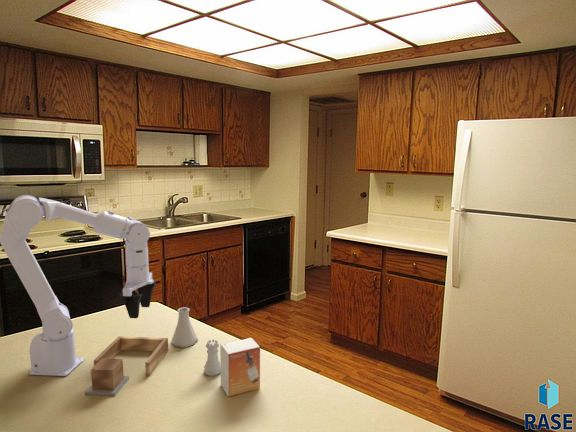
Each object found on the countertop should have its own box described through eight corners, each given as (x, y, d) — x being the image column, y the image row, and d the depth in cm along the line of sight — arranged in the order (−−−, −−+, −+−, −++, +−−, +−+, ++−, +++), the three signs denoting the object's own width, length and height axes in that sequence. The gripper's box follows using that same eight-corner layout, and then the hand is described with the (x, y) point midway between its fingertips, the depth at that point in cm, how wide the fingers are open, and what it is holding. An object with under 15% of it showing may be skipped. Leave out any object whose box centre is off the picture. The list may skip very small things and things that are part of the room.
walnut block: (92, 389, 92) (90, 369, 91) (103, 377, 96) (102, 358, 96) (113, 390, 91) (112, 370, 90) (123, 378, 96) (122, 358, 95)
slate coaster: (85, 394, 91) (85, 391, 91) (101, 377, 98) (101, 374, 98) (115, 395, 90) (115, 393, 90) (129, 378, 97) (129, 376, 97)
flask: (202, 340, 117) (201, 308, 116) (184, 350, 111) (183, 316, 110) (185, 334, 121) (183, 302, 119) (166, 343, 115) (164, 310, 113)
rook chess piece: (218, 377, 98) (217, 347, 97) (201, 375, 99) (200, 345, 98) (224, 368, 102) (224, 338, 101) (208, 366, 103) (207, 336, 102)
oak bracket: (94, 373, 99) (93, 360, 99) (119, 348, 112) (118, 336, 111) (149, 375, 98) (149, 362, 98) (168, 349, 111) (167, 338, 111)
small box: (228, 398, 90) (227, 354, 88) (220, 385, 95) (219, 343, 93) (260, 388, 94) (260, 346, 92) (251, 376, 99) (251, 336, 97)
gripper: (140, 273, 102) (143, 323, 104) (161, 258, 116) (163, 302, 118) (113, 272, 102) (116, 322, 104) (137, 257, 116) (140, 302, 118)
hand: (139, 312), depth 111 cm, fingers open, 7 cm apart
